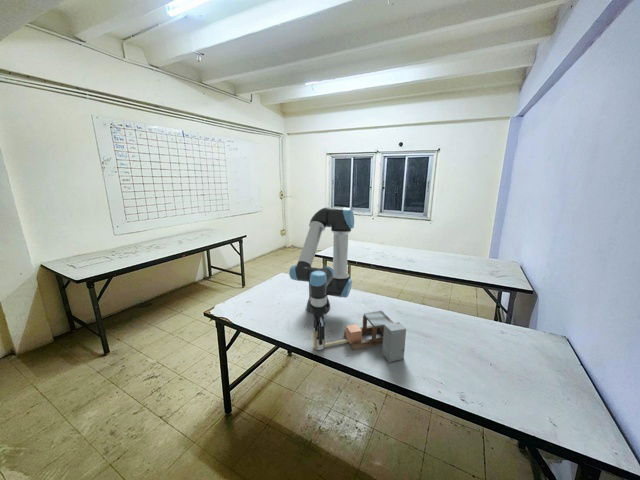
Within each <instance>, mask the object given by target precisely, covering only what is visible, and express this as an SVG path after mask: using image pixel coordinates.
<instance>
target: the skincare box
mask: <svg viewBox="0 0 640 480" xmlns="http://www.w3.org/2000/svg"><path fill="white" fill-rule="evenodd" d="M406 334H407V328H406V327H405V326H404V325H402V324H401V322H399V321H398V322H394V323H389V324H384V332H383V335H382V337H383V344H382V349H381V351H382V353H381V354H382V355H383V357H384V358H386V360H387V361H388V362H389V363H391V362H395V361H400V360H403V359H404V358H405V348H406V347H405V346H406Z"/></svg>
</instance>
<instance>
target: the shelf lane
mask: <svg viewBox="0 0 640 480" xmlns="http://www.w3.org/2000/svg"><path fill="white" fill-rule="evenodd" d="M368 322H369V324H370V325H369V326H368ZM389 323H395V322H394V321H393V320H392V319H391V318H390V317H389V316H388V315H387V314H386V313H385V312H384V311H383V310H377V311H371V312H365V313H363V315H362V327H360V329H361V330H362V335H365V334H368V333H369V334H370V333H371V338H370V339H365V340H362V341H359V342H354V343H352V345H351V350H352V351H356V350H361V349H366V348H371V347H375V346H376V347H377V346H380V345H383V332H384V324H389ZM377 332H380V335H382V336H380V337H377ZM343 337H344V338H346V329H344V330H343Z"/></svg>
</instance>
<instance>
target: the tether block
mask: <svg viewBox="0 0 640 480" xmlns="http://www.w3.org/2000/svg"><path fill="white" fill-rule="evenodd" d="M360 328H361V327H360V326H359V325H358V323H355V324H349V325H346V328H345V330H346V337H345V338H346V339H340V340H336V341H331V342H330V341H329V342H326V335H325V336H324V338H325V339H324V340H323V349H326V347H330V346H335V345H340V344H345V343H349V345H351V346H352V343H354V342H359V341H363V340H362V338H363V334H362V330H361V329H360ZM317 337H318V332H317V331H315V330H314V331H312V344H313V348H314V350H315V351H318V350H317V339H316V338H317Z"/></svg>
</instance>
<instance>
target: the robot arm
mask: <svg viewBox="0 0 640 480" xmlns="http://www.w3.org/2000/svg"><path fill="white" fill-rule="evenodd" d="M308 227H309V229H308V231H307V234H306V237H305V240H304V242H303V246H302V249H301V252H300V255H299V258H298V260H297V264H295V265H291V267H290V268H289V274H288V275H289V278H290V280H293V281H298V282H307V283H308V295H309V297H308V300H307V303H306V310H307V311H308V312H310V313H312V314H313V315H312V316H313V319H312V320H313V328H314V331H317V332H318V337H317V338H316V339H317V350H316V351H321V350H324V348H323V340H324V339H325V340H326V334H325V333H326V332H325V329H326V327H325V326H326V322H325V321H324V319H325V315H324V314H325V313H327V312H328V311H330V309H331V303H330V300H329V297H328V296H332V297H336V298H347V297H349V295H350V293H351V290H352V284H353V279H352V278H350V274H349V273H348V254H349V253H348V249H349V234H350V233H351V231H352V229H354V228H355V214H354V211H353V209H352V208H349V207H331V206H330V207H329V206H328V207H323V208H320V209H319V210H318V211H317V212H315V214H313V216H312V217H311V219H310V221H309V224H308ZM326 228H331V229H330V231H331V232H332V233H333V246H332V250H333V251H332V252H333V253H332V267H330V266H327V265H326V266H324V267H321V268H320V267H319V268H318V267H312V265H313V262H314V258H315V255H316V252H317V249H318V246H319V243H320V240H321V236H322V235H323V232H324V231H326ZM324 336H325V338H324Z"/></svg>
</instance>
